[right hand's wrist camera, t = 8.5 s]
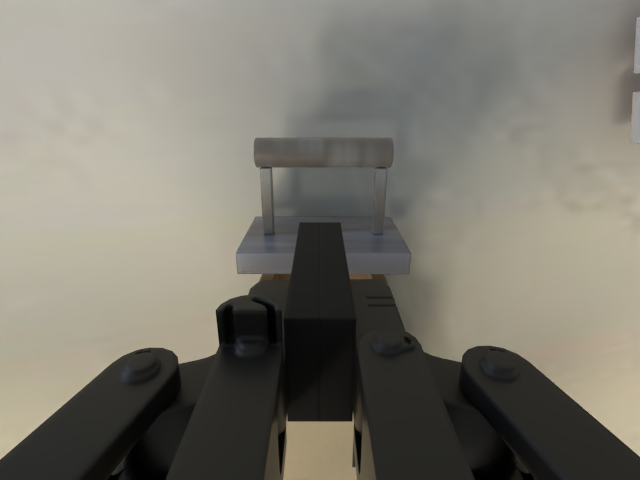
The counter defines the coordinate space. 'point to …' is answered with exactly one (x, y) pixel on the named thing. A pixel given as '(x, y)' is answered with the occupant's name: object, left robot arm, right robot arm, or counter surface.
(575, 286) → the counter surface
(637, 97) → the toy
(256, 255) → the drawer
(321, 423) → the cabinet
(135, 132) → the counter surface
